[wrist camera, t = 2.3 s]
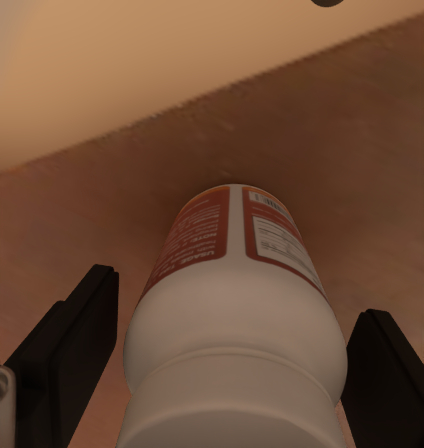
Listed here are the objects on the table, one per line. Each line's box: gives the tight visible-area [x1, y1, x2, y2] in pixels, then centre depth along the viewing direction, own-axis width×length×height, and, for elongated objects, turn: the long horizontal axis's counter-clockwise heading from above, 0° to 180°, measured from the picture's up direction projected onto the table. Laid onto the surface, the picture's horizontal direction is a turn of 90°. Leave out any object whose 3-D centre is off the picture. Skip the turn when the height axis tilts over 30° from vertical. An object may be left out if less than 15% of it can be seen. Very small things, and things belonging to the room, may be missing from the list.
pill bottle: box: [115, 184, 347, 448], centre depth 11 cm, size 6×6×11 cm
